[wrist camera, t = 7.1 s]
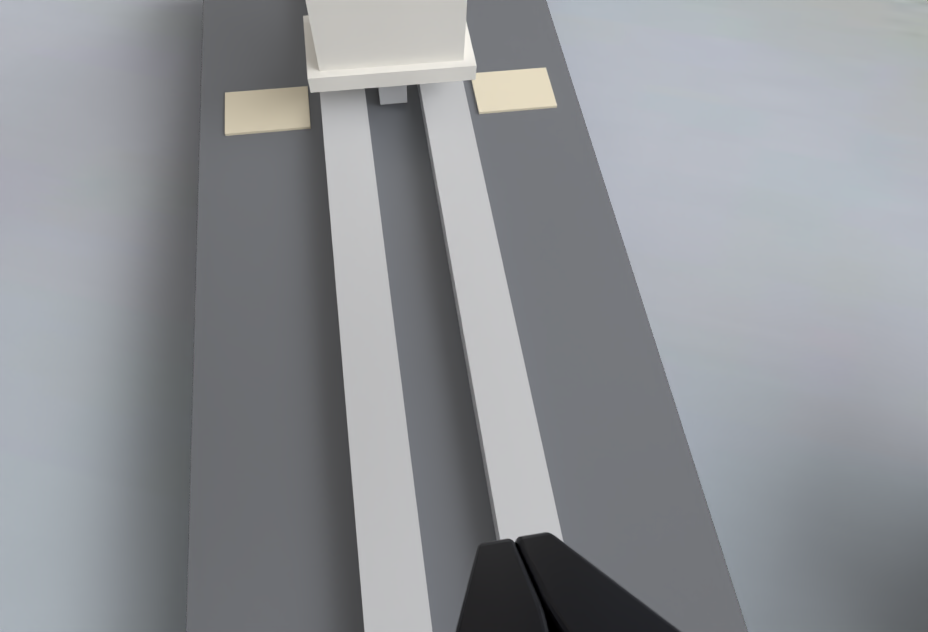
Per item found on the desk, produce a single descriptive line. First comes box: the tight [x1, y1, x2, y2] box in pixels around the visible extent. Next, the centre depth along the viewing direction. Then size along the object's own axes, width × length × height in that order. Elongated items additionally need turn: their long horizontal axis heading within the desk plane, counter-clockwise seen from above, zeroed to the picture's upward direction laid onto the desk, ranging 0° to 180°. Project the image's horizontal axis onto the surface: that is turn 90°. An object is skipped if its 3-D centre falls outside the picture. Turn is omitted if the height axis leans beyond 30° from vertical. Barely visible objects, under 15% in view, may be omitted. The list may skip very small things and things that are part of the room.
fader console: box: [186, 0, 748, 632], centre depth 22 cm, size 30×14×3 cm, turn 9°
